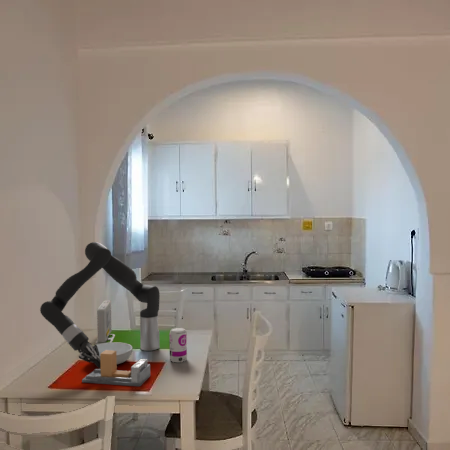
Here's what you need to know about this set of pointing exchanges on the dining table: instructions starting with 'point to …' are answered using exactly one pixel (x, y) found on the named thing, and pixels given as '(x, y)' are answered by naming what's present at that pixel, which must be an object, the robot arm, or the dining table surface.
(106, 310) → the network device
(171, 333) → the supplement can
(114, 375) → the block
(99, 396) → the dining table surface
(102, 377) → the rail
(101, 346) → the serving bowl
